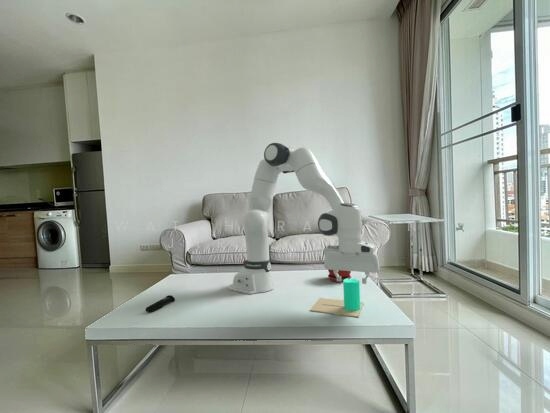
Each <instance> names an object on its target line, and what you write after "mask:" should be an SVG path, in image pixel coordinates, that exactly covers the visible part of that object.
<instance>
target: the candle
mask: <svg viewBox="0 0 550 413" xmlns="http://www.w3.org/2000/svg"><path fill="white" fill-rule="evenodd" d="M342 283H343V285H342V286H343V300H344V308H345V309H347V310H350V311H357V310H360V302H361V291H360V290H361V288H360V286H361V285H360V280H358V279H356V278H350V279H344V280H343V281H342Z"/></svg>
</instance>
